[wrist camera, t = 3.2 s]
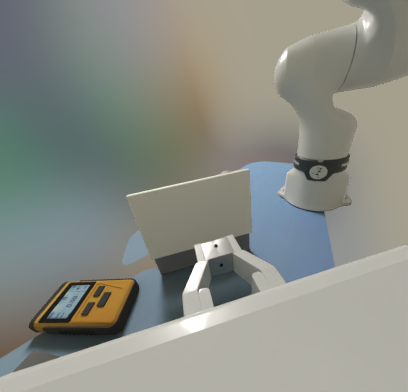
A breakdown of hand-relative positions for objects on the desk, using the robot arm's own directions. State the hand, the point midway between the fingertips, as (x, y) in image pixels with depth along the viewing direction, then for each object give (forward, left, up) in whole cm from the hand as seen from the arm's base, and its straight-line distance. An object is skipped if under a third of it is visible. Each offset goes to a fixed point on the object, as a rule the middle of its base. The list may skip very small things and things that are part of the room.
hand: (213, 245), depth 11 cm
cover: (-10, -10, -7) cm, 16 cm away
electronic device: (+8, -24, -20) cm, 33 cm away
